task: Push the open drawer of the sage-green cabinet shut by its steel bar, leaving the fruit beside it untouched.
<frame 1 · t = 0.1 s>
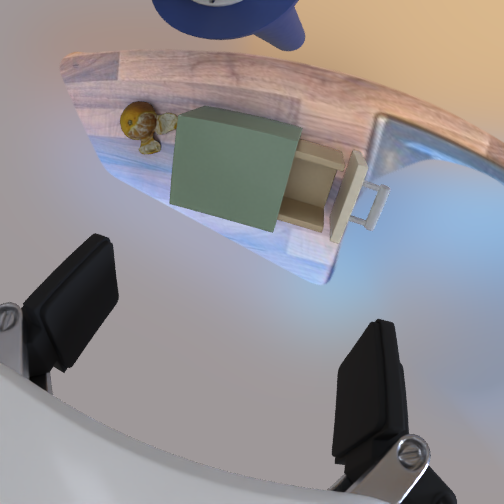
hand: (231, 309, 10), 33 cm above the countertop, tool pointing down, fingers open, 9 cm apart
drawer: (320, 186, 37), point 4 cm above the countertop, slide at 7.0 cm
fruit: (150, 128, 41), on the countertop
cabinet: (244, 154, 41), on the countertop
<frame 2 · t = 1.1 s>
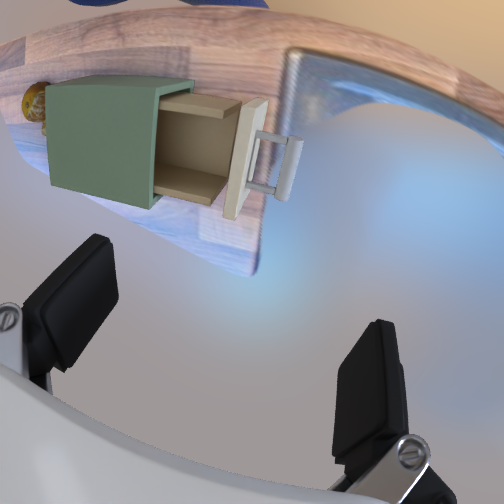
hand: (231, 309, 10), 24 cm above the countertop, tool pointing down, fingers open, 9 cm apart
drawer: (210, 147, 28), point 4 cm above the countertop, slide at 7.0 cm
fruit: (52, 108, 32), on the countertop
cabinet: (136, 122, 32), on the countertop
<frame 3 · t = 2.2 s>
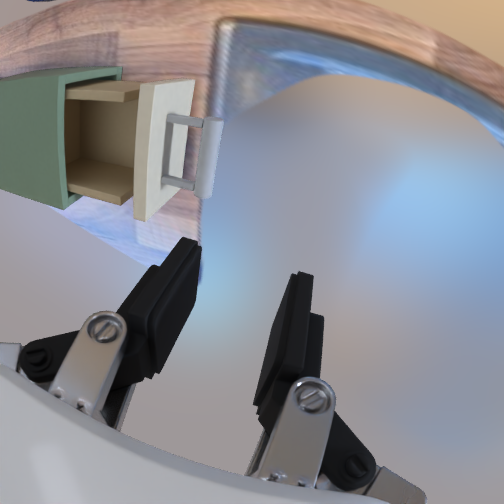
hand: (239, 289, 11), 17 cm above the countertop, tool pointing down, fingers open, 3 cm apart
drawer: (126, 138, 22), point 4 cm above the countertop, slide at 7.0 cm
cabinet: (71, 117, 27), on the countertop
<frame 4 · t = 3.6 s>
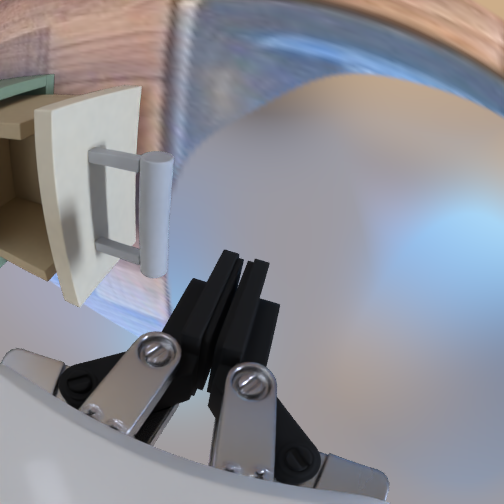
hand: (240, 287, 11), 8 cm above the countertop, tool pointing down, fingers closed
drawer: (50, 181, 14), point 4 cm above the countertop, slide at 7.0 cm
cabinet: (7, 142, 18), on the countertop
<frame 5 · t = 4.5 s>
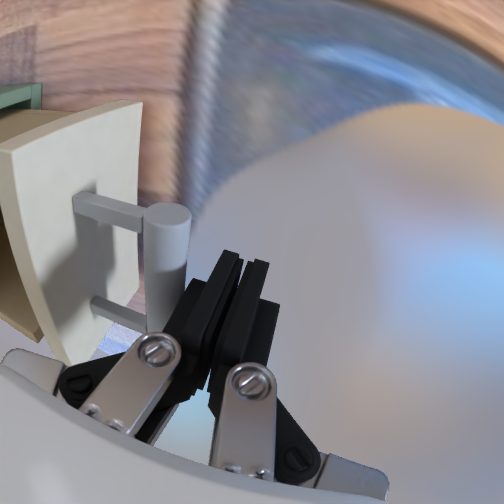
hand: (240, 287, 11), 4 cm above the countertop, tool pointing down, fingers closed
drawer: (32, 222, 11), point 4 cm above the countertop, slide at 6.6 cm, touching gripper
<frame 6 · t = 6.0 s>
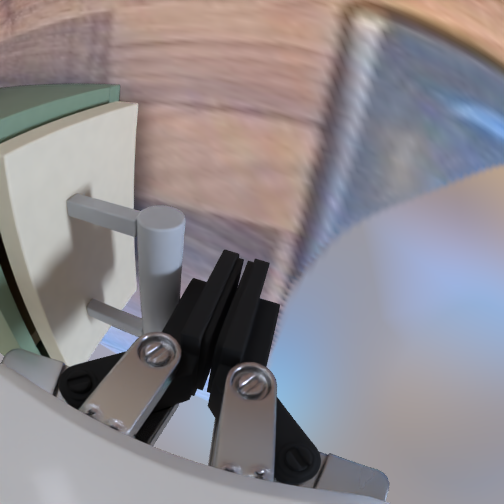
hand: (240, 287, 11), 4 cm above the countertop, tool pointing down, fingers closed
drawer: (29, 224, 11), point 4 cm above the countertop, slide at 0.5 cm, touching gripper
cabinet: (35, 174, 15), on the countertop
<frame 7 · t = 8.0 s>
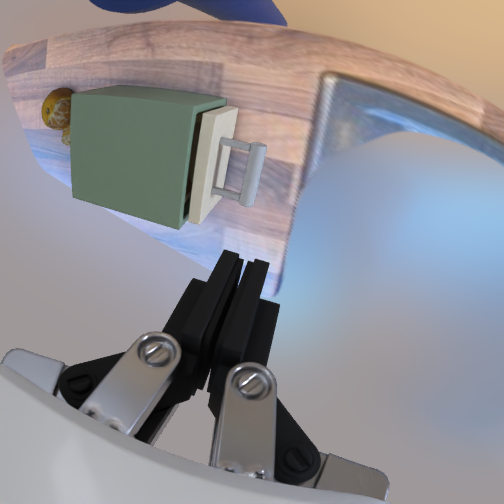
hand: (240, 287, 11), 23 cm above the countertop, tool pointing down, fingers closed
drawer: (180, 153, 29), point 4 cm above the countertop, slide at 0.5 cm
fruit: (73, 116, 33), on the countertop
cabinet: (163, 137, 32), on the countertop
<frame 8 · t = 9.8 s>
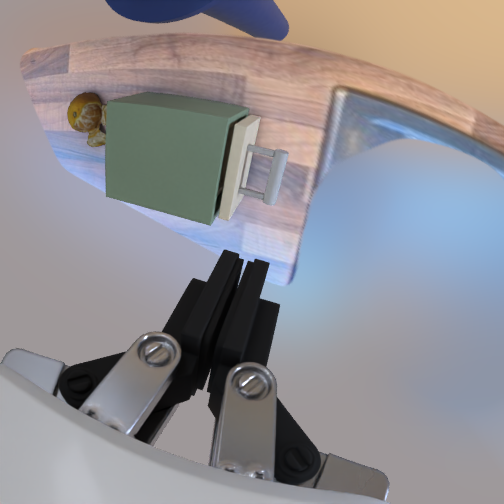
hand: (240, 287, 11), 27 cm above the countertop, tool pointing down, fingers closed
drawer: (209, 157, 33), point 4 cm above the countertop, slide at 0.5 cm
fruit: (98, 119, 37), on the countertop
cabinet: (188, 141, 36), on the countertop
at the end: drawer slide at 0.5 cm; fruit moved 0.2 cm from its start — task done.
